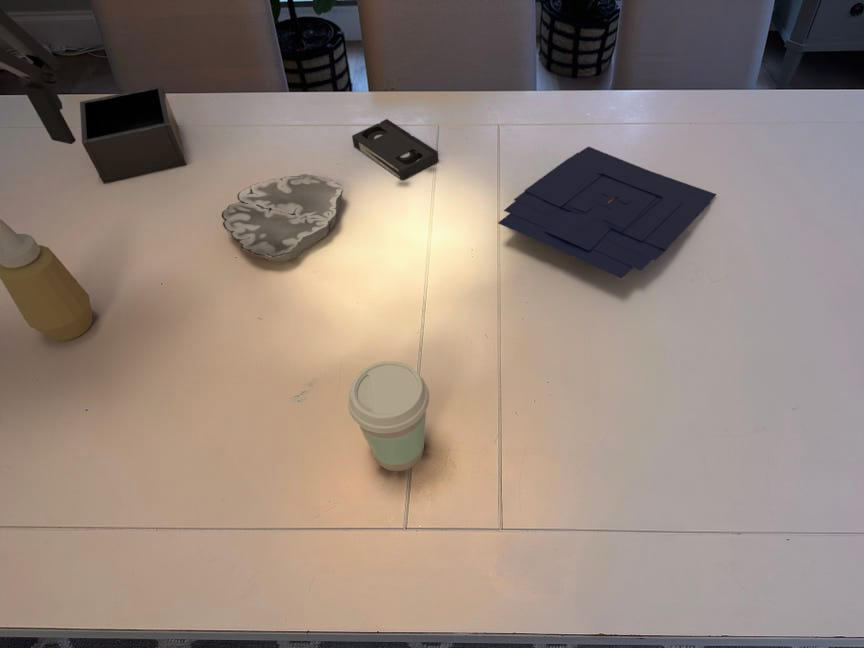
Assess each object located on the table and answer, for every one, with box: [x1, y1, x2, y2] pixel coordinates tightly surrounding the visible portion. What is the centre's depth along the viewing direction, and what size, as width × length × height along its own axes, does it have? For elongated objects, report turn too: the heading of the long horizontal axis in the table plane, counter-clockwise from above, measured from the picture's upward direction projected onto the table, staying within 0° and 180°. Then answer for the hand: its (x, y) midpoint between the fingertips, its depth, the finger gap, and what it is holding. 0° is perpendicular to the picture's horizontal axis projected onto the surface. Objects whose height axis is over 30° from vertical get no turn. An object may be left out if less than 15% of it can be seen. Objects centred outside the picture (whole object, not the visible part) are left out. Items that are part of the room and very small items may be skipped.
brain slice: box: [221, 173, 344, 262], centre depth 104 cm, size 20×17×3 cm
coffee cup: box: [347, 360, 430, 472], centre depth 74 cm, size 8×8×12 cm
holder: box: [79, 85, 187, 185], centre depth 116 cm, size 14×14×8 cm
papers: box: [497, 146, 717, 280], centre depth 104 cm, size 24×30×4 cm
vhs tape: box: [351, 118, 439, 181], centre depth 117 cm, size 14×8×2 cm, turn 42°
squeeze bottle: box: [0, 218, 93, 342], centre depth 85 cm, size 8×8×18 cm
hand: (20, 174), depth 73 cm, fingers open, 13 cm apart
